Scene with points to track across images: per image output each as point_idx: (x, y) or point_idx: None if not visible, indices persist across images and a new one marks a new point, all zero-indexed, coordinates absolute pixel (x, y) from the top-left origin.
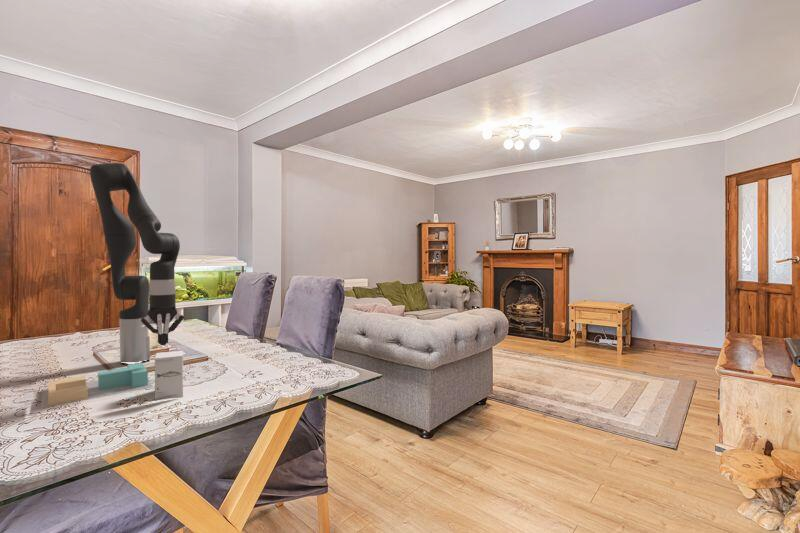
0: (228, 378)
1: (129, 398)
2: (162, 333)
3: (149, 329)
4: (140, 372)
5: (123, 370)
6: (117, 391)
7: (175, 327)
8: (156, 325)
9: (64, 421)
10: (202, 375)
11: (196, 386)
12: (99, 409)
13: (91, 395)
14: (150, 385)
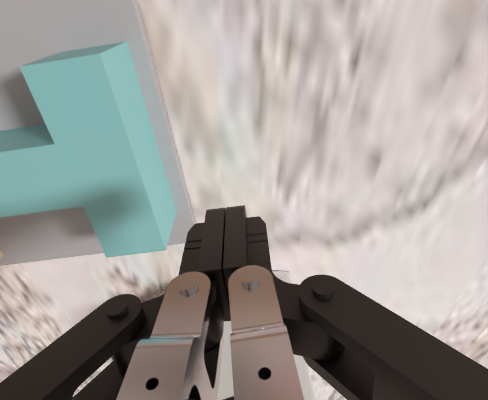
0: (461, 229)
1: (135, 272)
2: (222, 318)
3: (89, 397)
4: (137, 253)
5: (46, 192)
6: (80, 233)
7: (360, 368)
8: (139, 346)
9: (22, 346)
10: (397, 139)
11: (335, 259)
12: (75, 314)
13: (2, 235)
14: (186, 221)
